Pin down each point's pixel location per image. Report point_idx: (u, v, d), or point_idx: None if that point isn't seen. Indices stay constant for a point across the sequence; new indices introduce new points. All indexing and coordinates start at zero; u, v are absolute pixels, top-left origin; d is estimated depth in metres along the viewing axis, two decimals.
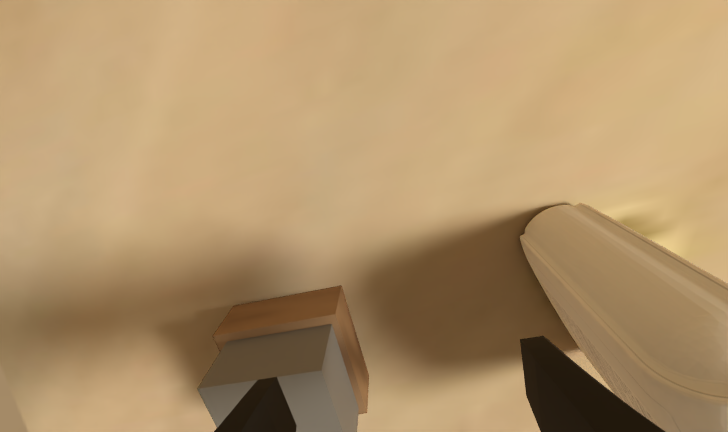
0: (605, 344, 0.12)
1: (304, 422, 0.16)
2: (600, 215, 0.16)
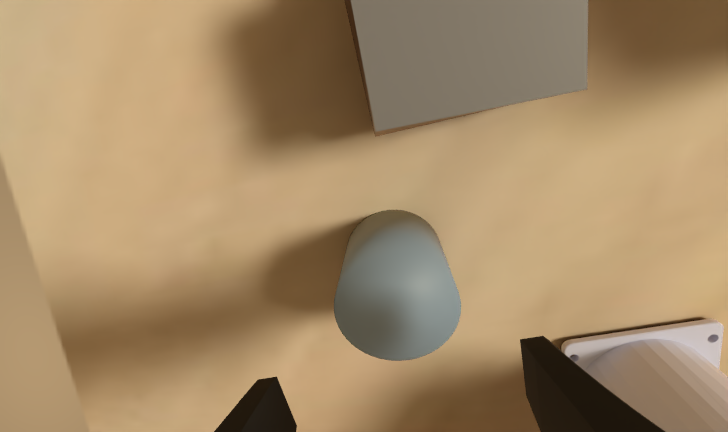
0: None
1: None
2: None
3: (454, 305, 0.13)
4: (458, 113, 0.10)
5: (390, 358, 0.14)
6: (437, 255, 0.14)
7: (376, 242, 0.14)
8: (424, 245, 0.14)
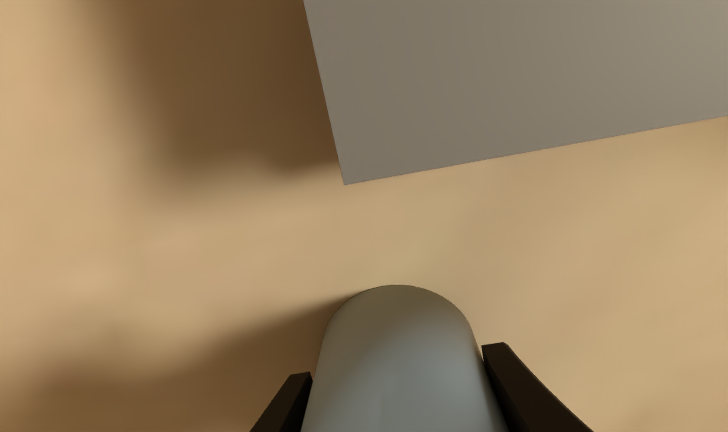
0: None
1: None
2: None
3: None
4: (615, 130, 0.03)
5: None
6: (488, 413, 0.07)
7: (367, 386, 0.07)
8: (461, 393, 0.07)
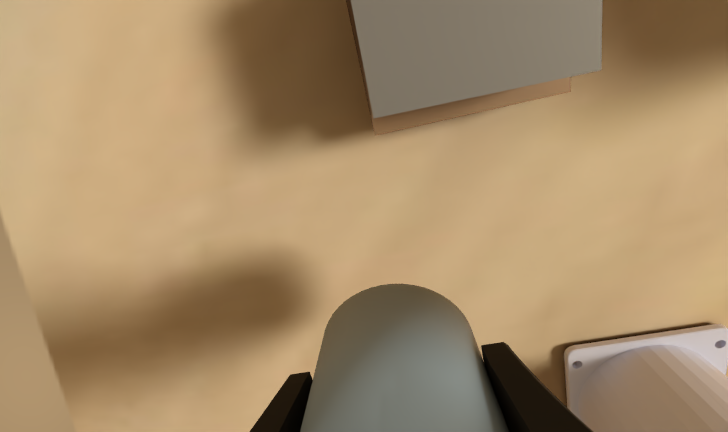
0: None
1: None
2: None
3: None
4: (462, 97, 0.09)
5: None
6: (487, 411, 0.07)
7: (367, 383, 0.07)
8: (460, 390, 0.07)
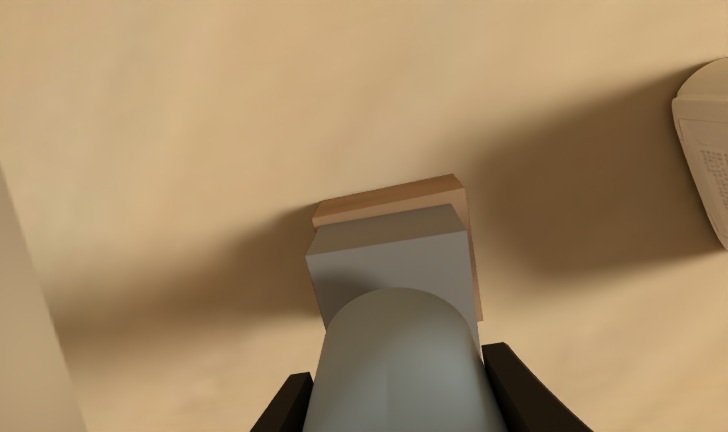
0: None
1: None
2: None
3: None
4: None
5: None
6: (492, 419, 0.07)
7: (373, 387, 0.07)
8: (466, 397, 0.07)
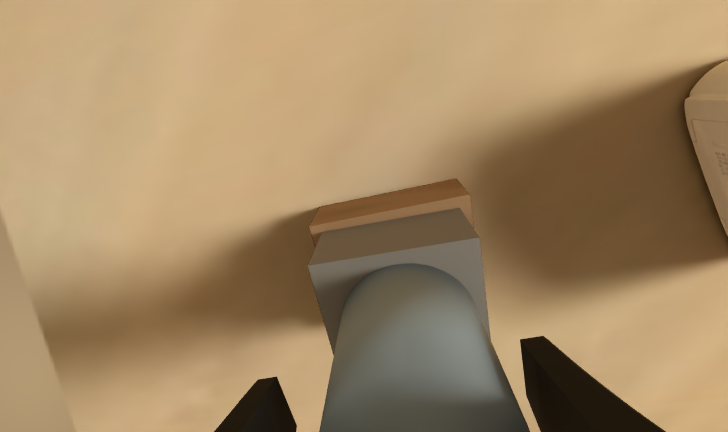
0: None
1: None
2: None
3: None
4: None
5: None
6: (492, 364, 0.08)
7: (392, 337, 0.08)
8: (471, 346, 0.08)
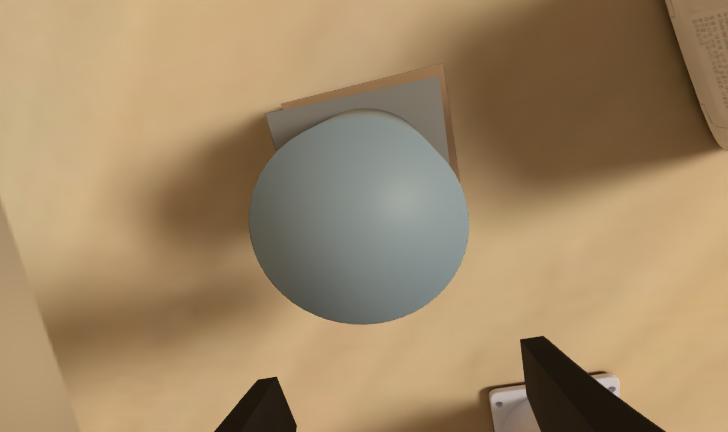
0: None
1: None
2: None
3: (457, 225, 0.08)
4: None
5: (347, 320, 0.09)
6: (430, 145, 0.08)
7: (327, 120, 0.08)
8: (408, 127, 0.08)
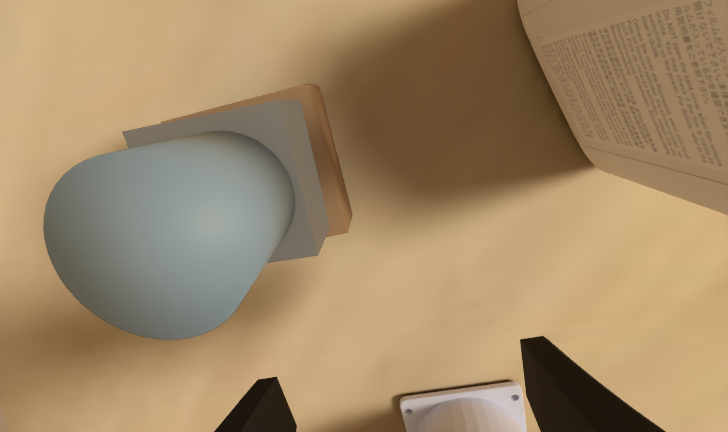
0: None
1: None
2: None
3: (236, 243, 0.08)
4: None
5: (161, 336, 0.09)
6: (220, 168, 0.09)
7: None
8: (200, 154, 0.09)
